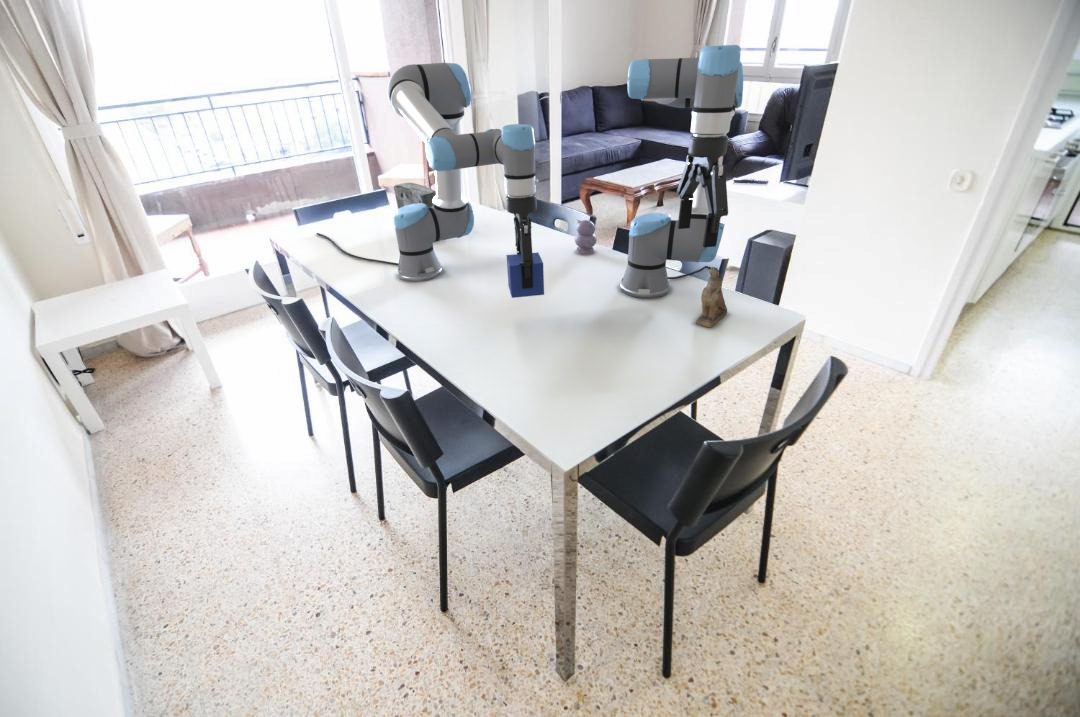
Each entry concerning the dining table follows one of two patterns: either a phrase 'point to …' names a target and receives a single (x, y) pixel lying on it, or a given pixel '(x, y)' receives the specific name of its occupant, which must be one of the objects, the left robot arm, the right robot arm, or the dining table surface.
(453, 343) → the dining table surface
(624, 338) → the dining table surface
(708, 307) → the worn brown figurine
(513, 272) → the block
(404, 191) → the concrete block
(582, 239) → the grey owl figurine
